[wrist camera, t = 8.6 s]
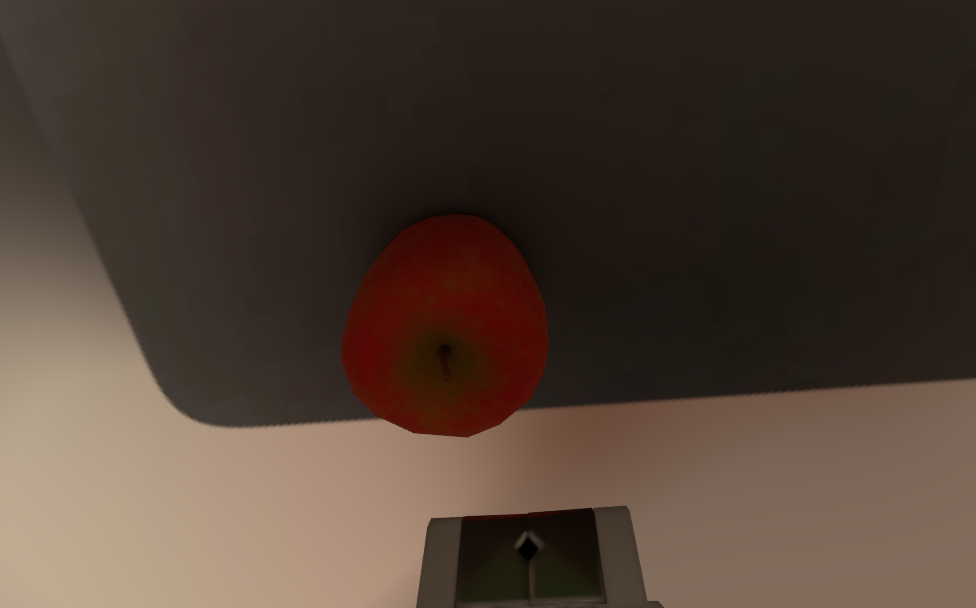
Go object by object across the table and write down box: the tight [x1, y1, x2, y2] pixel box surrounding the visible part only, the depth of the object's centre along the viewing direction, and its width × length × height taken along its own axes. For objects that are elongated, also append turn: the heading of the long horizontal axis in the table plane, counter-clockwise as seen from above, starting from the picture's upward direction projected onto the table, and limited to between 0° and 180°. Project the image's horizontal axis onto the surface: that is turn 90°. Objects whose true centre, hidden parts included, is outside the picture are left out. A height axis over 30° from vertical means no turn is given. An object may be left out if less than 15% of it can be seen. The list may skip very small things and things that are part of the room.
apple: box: [342, 214, 549, 437], centre depth 22 cm, size 6×6×8 cm
